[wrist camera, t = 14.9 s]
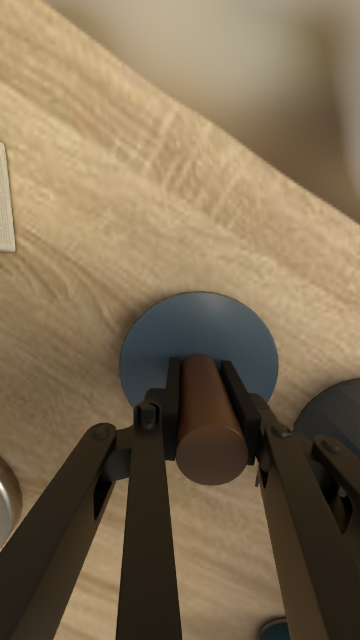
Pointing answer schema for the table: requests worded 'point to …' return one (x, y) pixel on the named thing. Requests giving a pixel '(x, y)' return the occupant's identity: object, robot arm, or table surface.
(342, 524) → the robot arm
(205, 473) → the pot lid
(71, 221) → the table surface
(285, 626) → the soda can
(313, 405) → the canister
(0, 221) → the white packaging box
